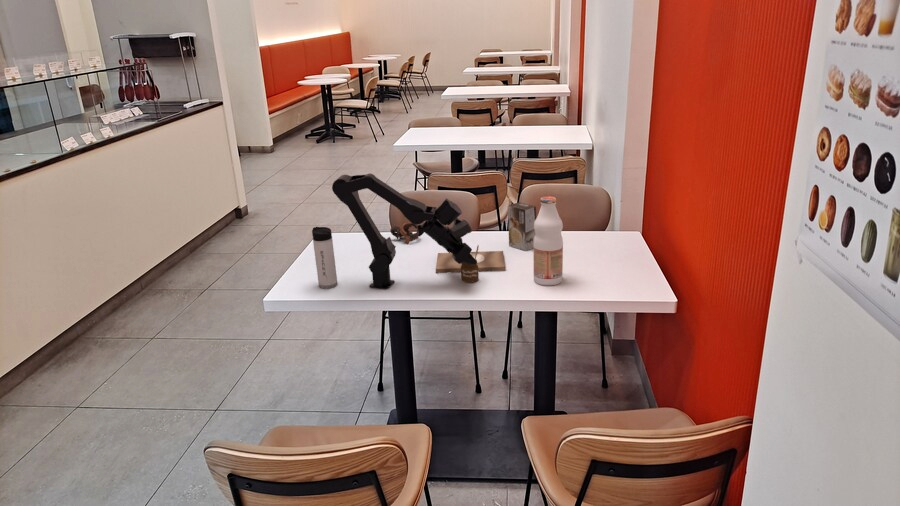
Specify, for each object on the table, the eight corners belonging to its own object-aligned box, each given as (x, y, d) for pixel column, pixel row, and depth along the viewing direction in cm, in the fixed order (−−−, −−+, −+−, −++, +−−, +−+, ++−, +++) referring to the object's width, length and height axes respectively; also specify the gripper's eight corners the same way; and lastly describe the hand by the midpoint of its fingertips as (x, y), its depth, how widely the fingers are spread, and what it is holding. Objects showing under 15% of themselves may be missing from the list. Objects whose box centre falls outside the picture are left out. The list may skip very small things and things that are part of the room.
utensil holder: (460, 276, 215) (458, 243, 211) (478, 275, 215) (477, 242, 211) (461, 283, 210) (460, 249, 206) (480, 282, 210) (479, 248, 206)
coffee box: (537, 247, 240) (537, 206, 234) (525, 251, 236) (525, 209, 230) (519, 241, 246) (518, 201, 241) (507, 246, 242) (507, 205, 237)
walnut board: (503, 254, 234) (503, 249, 233) (505, 270, 218) (505, 265, 218) (438, 256, 235) (437, 251, 234) (435, 273, 220) (435, 267, 219)
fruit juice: (531, 285, 206) (531, 201, 196) (535, 274, 214) (535, 194, 205) (560, 287, 203) (562, 202, 194) (563, 276, 212) (565, 194, 202)
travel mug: (328, 279, 218) (321, 224, 212) (341, 283, 214) (335, 227, 208) (314, 285, 214) (306, 229, 207) (327, 290, 210) (320, 232, 203)
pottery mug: (418, 236, 260) (422, 222, 254) (416, 252, 254) (420, 238, 248) (389, 230, 259) (392, 216, 253) (387, 247, 252) (390, 233, 246)
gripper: (464, 222, 195) (498, 251, 202) (448, 206, 212) (480, 233, 219) (440, 249, 196) (476, 277, 202) (426, 232, 213) (459, 258, 219)
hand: (473, 260), depth 211 cm, fingers closed on utensil holder, 5 cm apart
